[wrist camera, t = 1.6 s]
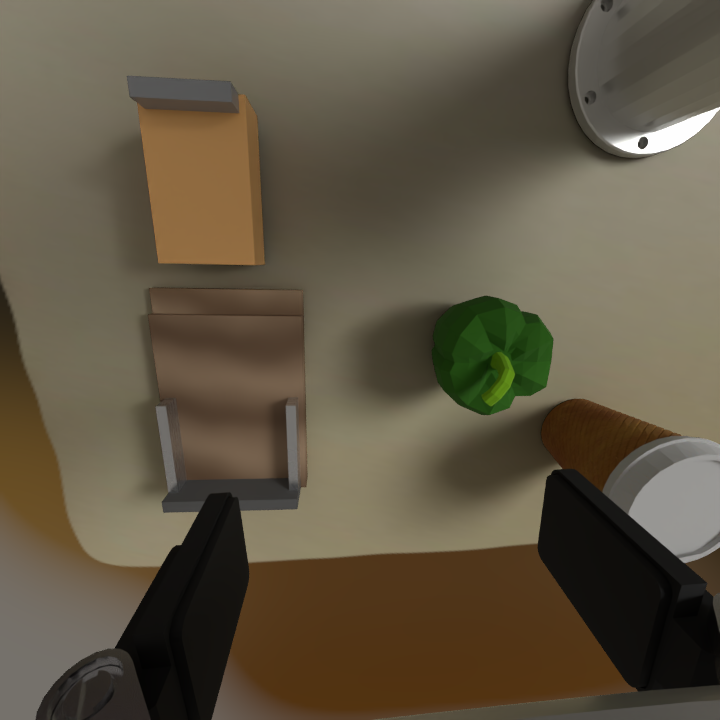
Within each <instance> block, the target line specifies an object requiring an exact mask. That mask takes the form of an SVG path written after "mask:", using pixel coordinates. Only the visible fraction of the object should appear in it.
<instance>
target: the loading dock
mask: <svg viewBox="0 0 720 720" xmlns="http://www.w3.org/2000/svg"><path fill="white" fill-rule="evenodd" d="M149 291H150V298H151V305H152V312H153V314H149V315H148V319H149V326H150V333H151V340H152V347H153V354H154V360H155V367H156V374H157V381H158V388H159V395H160V401H161V402H160V403H159V404H158V405H157V406H155V407H156V413H157V420H158V427H159V433H160V440H161V446H162V453H163V460H164V466H165V473H166V479H167V486H168V494H167V496H166V497H165V499H164V500H163V501H162V507H163V513H165V512H200V510H201V508H202V506H203V504H204V502H205V500H206V499H207V497H208V495H209V494H211V493H225V492H230V493H231V494H232V497H238V500H239V505H240V511H244V510H283V509H297V507H298V501H299V495H300V489H301V487H306V484H307V437H306V394H305V351H304V307H303V290H277V289H216V288H155V287H154V288H149Z"/></svg>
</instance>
